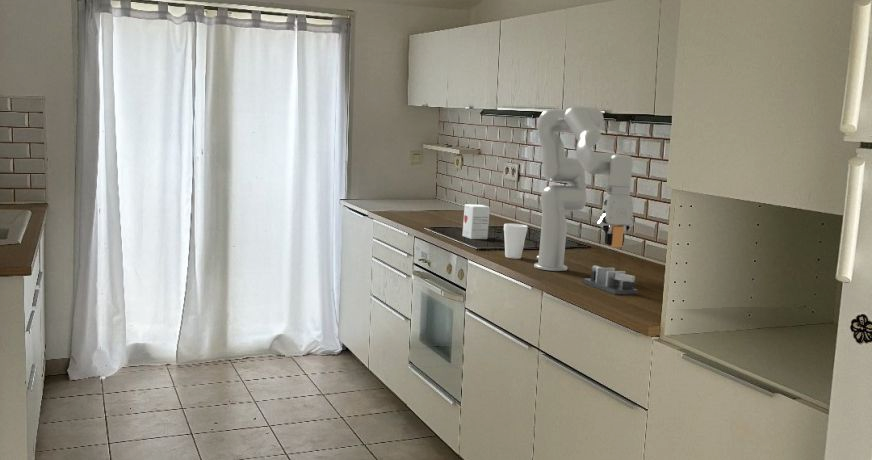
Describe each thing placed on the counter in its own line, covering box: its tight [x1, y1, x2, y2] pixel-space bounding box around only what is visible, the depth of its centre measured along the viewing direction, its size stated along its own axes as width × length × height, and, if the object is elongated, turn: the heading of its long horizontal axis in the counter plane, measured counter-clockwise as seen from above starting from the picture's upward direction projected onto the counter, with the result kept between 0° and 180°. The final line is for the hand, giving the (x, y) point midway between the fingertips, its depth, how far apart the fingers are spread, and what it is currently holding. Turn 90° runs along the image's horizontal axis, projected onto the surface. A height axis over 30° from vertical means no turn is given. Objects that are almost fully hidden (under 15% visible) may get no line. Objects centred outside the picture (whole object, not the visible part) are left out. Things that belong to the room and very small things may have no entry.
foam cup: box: [503, 223, 528, 259], centre depth 363 cm, size 10×9×13 cm
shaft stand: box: [582, 264, 639, 296], centre depth 309 cm, size 20×9×6 cm, turn 22°
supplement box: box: [461, 203, 491, 240], centre depth 413 cm, size 9×9×15 cm
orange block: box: [605, 225, 624, 248], centre depth 306 cm, size 4×4×7 cm
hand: (614, 244), depth 307 cm, fingers closed on orange block, 4 cm apart
